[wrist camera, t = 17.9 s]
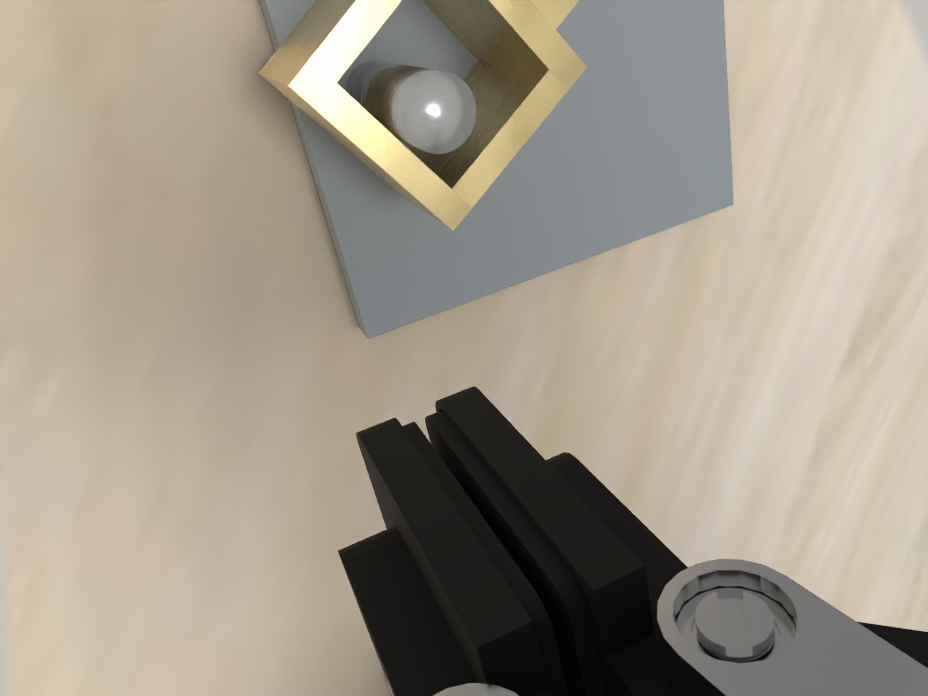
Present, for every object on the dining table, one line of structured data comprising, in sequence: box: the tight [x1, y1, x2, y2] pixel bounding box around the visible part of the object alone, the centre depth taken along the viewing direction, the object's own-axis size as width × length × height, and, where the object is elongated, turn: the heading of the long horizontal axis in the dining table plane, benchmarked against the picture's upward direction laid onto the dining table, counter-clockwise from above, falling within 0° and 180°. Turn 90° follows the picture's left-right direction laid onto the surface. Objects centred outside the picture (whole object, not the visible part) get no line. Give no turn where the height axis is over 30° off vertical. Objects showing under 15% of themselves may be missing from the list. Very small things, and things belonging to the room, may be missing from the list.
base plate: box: [259, 0, 734, 339], centre depth 31 cm, size 20×19×2 cm
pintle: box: [345, 60, 476, 154], centre depth 27 cm, size 2×2×8 cm
